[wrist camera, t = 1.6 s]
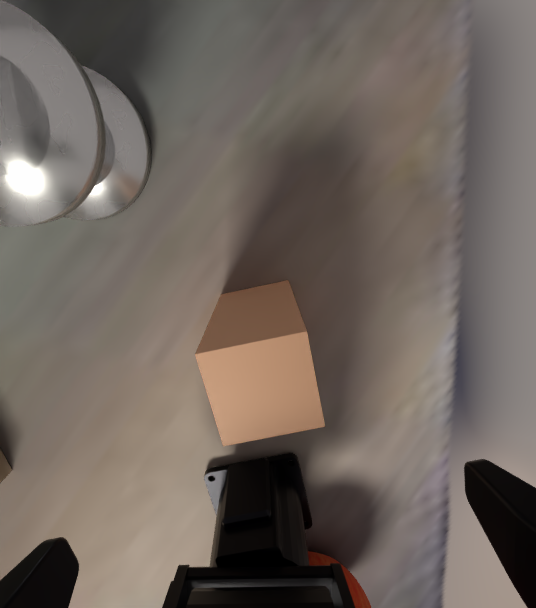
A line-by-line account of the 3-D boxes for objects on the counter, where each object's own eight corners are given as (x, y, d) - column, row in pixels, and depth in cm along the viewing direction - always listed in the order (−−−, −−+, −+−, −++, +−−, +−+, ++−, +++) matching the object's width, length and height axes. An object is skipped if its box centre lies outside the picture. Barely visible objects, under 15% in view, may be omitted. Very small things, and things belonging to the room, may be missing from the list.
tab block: (300, 342, 20) (325, 426, 13) (237, 355, 20) (223, 446, 13) (288, 280, 19) (306, 331, 11) (221, 294, 19) (195, 354, 12)
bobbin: (168, 203, 18) (123, 203, 12) (44, 231, 18) (-58, 244, 12) (124, 53, 16) (45, -35, 10) (-15, 87, 16) (-171, 20, 10)
